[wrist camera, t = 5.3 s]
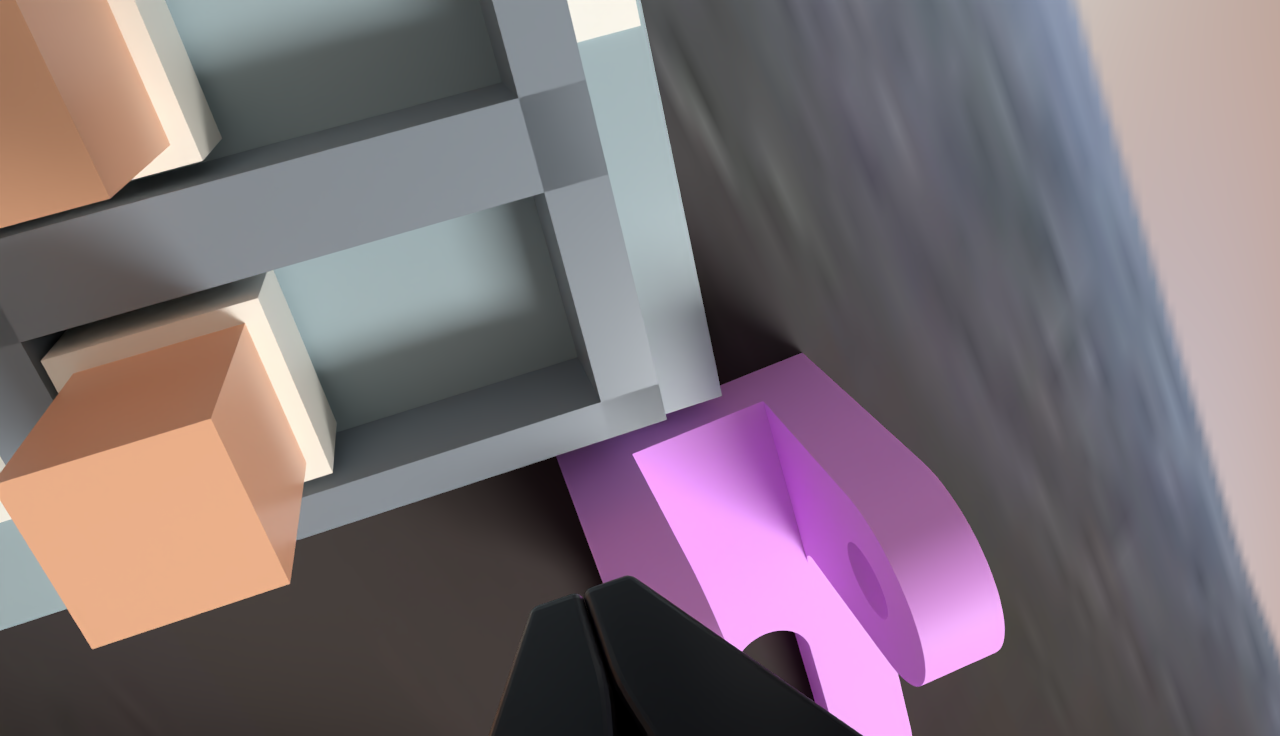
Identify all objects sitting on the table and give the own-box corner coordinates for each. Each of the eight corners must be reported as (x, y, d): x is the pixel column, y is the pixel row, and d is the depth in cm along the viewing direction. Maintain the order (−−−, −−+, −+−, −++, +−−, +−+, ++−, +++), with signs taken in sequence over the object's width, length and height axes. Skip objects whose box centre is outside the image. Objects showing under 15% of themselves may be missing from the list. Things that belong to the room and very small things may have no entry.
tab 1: (221, 138, 14) (152, 218, 10) (15, 193, 14) (-154, 302, 9) (133, -78, 13) (7, -98, 9) (-99, -24, 13) (-358, -17, 8)
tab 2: (336, 423, 16) (322, 593, 12) (161, 477, 16) (79, 675, 12) (269, 262, 15) (226, 387, 11) (76, 318, 15) (-53, 470, 10)
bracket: (552, 448, 20) (635, 673, 13) (799, 349, 20) (987, 520, 14) (713, 846, 25) (823, 1132, 19) (901, 761, 26) (1067, 1011, 20)
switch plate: (702, 372, 20) (759, 442, 17) (-4, 598, 18) (-77, 721, 15) (554, -323, 14) (598, -393, 12) (-467, -108, 13) (-717, -130, 10)
